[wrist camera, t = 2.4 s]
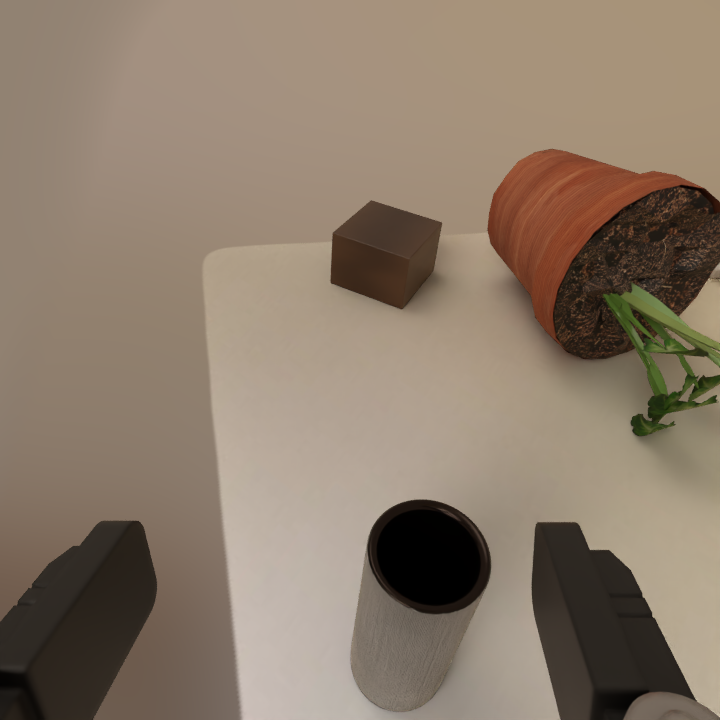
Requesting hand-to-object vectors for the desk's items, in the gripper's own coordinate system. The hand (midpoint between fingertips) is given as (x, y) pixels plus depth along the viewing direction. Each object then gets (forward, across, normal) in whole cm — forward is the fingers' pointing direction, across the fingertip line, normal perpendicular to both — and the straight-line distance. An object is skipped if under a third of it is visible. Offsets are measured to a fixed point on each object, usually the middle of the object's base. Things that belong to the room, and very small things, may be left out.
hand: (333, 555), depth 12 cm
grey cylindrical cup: (+11, 0, +16) cm, 19 cm away
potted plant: (+32, -18, +12) cm, 38 cm away
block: (+42, +1, +4) cm, 42 cm away
